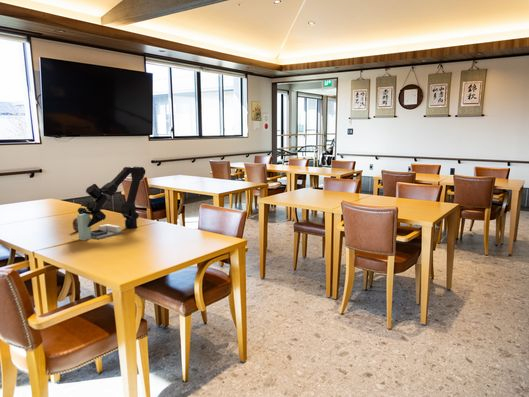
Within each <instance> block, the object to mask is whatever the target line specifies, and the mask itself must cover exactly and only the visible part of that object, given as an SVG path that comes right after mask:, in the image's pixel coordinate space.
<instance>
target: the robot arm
mask: <svg viewBox="0 0 529 397" xmlns="http://www.w3.org/2000/svg"><path fill="white" fill-rule="evenodd" d="M129 175H130V177H131V182H130V188H129V191H128V194H127V199H126V202H125V203H121V208H120V212H121V215H122V217H123V218H124V227H125V228H126V229H127V230H129V229H138V227H139V226H138V222H137V221H138V219H139V218H140V214H139V213H138V212H137V211H136V209H137V207H136V203H135V202H136V200H137V194H138V191H139V187H140V183H141V181H142V180H143V179H144V177H145V175H146V169H145V167H143V166H133V167H130V166H125V167H123V168H122V169H121V171H120V172H118V174H117V175H116V176H114V178H113V179H112V180H111V181H110V182H107V183H104V185H103V186H101V187H99V186H98V185H97V184H96V183H93V184H92V185H89V186H88V187H87V188H86V189H85V193H86V194H87V195H89V196H90V197H91V198H92V199H94V200H89V201H86V200H81V204H80V206H81V207H78V209H77V212H78V215H79V214H89V215H90V216H92V217H91V221H90V222H89V224H88V226H87V227H90V228H91V227H92V226H94V225H96V224H97V223H100V222H102V221H105V219H106V218H107V214H105V213H104V212H103V211H102V210H104V206H105V205H106V203H107V202H108V203H112V202H111V197H112V196H115V194H116V193H117V191H118V187H119V186H120V185H121V184H122V183H123V182H124V181H125V179H126V178H128V177H129ZM109 196H110V197H109ZM77 225H78V222H77Z"/></svg>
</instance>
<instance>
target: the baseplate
mask: <svg viewBox="0 0 529 397" xmlns="http://www.w3.org/2000/svg"><path fill="white" fill-rule="evenodd" d="M90 231H91V239H95V240H102V239H105V238H109V237H112V236H113V237H114V236H116V235H120V234H124V233H125V231H124V230H122V227H121V226H120V225H115V224H111V223H110V224H109V223H106V224H101V225H98V227H97V229H95V230H90Z"/></svg>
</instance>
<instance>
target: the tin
mask: <svg viewBox="0 0 529 397" xmlns="http://www.w3.org/2000/svg"><path fill="white" fill-rule="evenodd" d="M91 219H92V217H90V221H91ZM77 222H78V219H77V217H76V218H73V220H72V229H73V231H75V232H78V225H77Z"/></svg>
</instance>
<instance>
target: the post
mask: <svg viewBox="0 0 529 397" xmlns="http://www.w3.org/2000/svg"><path fill="white" fill-rule="evenodd" d="M76 218H77V219H78V231H77V233H78V234H77V235H78V240H81V241H87V240H90V239H92V238H91V231H92V230H91V226H90V227H87V226H88V224H89V222H90V218H91V215H89V214H79V213H78V214H77V216H76Z"/></svg>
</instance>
